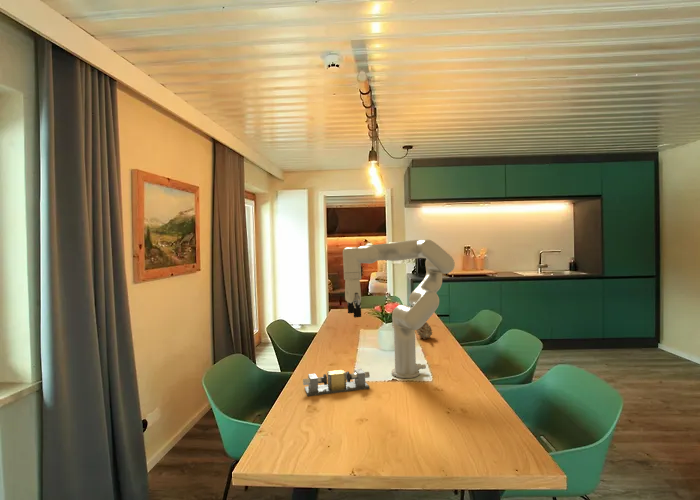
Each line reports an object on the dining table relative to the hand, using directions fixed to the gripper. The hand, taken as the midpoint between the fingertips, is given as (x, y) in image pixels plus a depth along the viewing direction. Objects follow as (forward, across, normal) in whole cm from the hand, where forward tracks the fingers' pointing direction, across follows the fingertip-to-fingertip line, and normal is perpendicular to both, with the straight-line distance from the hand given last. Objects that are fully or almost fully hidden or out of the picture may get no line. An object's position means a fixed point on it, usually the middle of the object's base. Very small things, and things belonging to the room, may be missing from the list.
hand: (354, 315), depth 175 cm
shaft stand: (+29, +6, -11) cm, 32 cm away
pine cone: (+31, -55, +59) cm, 86 cm away
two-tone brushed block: (+28, +5, -11) cm, 31 cm away
